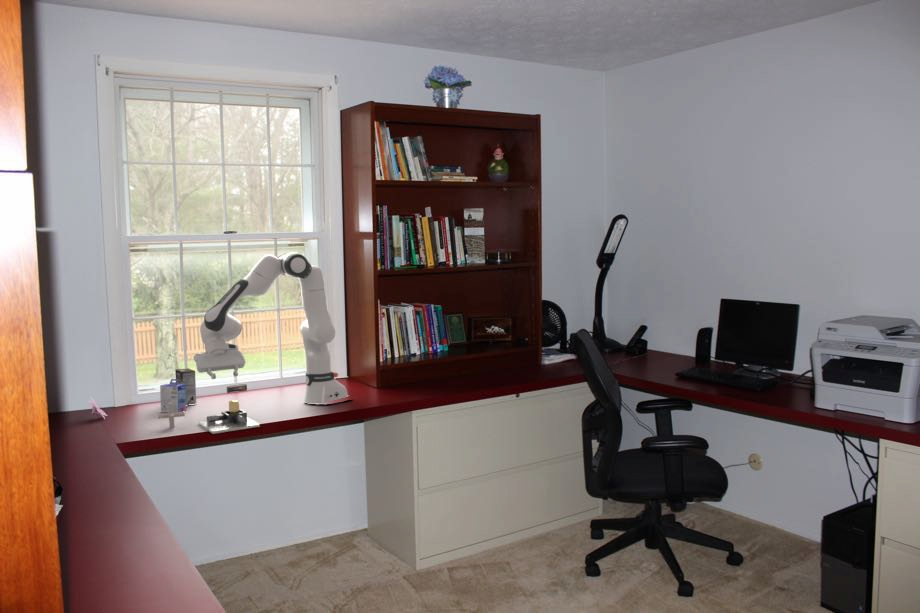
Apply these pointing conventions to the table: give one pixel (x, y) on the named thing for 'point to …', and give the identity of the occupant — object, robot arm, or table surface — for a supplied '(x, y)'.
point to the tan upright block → (233, 407)
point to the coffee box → (187, 384)
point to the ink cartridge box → (173, 396)
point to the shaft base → (228, 422)
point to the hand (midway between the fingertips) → (225, 376)
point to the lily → (96, 409)
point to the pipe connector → (171, 415)
